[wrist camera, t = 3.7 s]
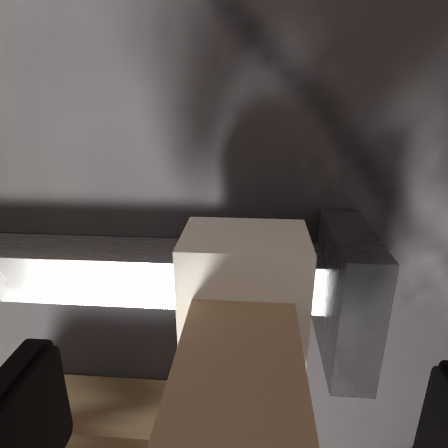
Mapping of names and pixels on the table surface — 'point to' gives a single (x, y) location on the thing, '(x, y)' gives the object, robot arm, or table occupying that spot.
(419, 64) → the table surface
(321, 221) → the rail
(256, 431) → the carriage
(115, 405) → the wooden box
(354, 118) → the table surface
